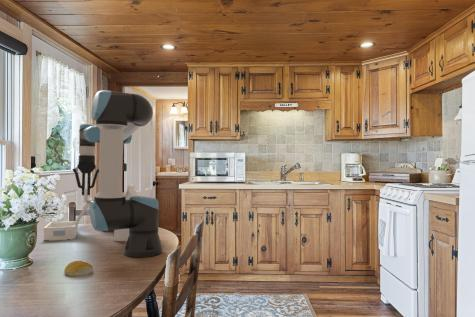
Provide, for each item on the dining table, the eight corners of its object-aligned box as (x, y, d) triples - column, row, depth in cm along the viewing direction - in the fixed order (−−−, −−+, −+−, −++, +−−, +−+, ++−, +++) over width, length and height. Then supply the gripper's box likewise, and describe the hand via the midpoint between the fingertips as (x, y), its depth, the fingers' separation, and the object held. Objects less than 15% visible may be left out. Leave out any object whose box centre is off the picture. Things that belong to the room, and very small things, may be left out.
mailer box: (50, 233, 181) (50, 222, 182) (78, 232, 186) (78, 221, 186) (43, 240, 166) (43, 227, 166) (74, 239, 170) (74, 226, 170)
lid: (90, 197, 187) (92, 198, 188) (77, 219, 185) (80, 220, 186) (87, 200, 172) (90, 201, 172) (73, 224, 170) (76, 225, 170)
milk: (137, 241, 168) (138, 186, 168) (113, 240, 168) (114, 185, 168) (145, 236, 180) (146, 184, 180) (122, 235, 180) (123, 184, 180)
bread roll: (82, 268, 126) (83, 256, 126) (96, 273, 120) (96, 261, 120) (59, 273, 119) (59, 261, 120) (72, 279, 114) (72, 266, 114)
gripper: (101, 155, 185) (99, 200, 185) (73, 154, 181) (72, 201, 181) (100, 155, 178) (99, 202, 177) (71, 154, 174) (70, 202, 173)
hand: (85, 201), depth 179 cm, fingers closed
